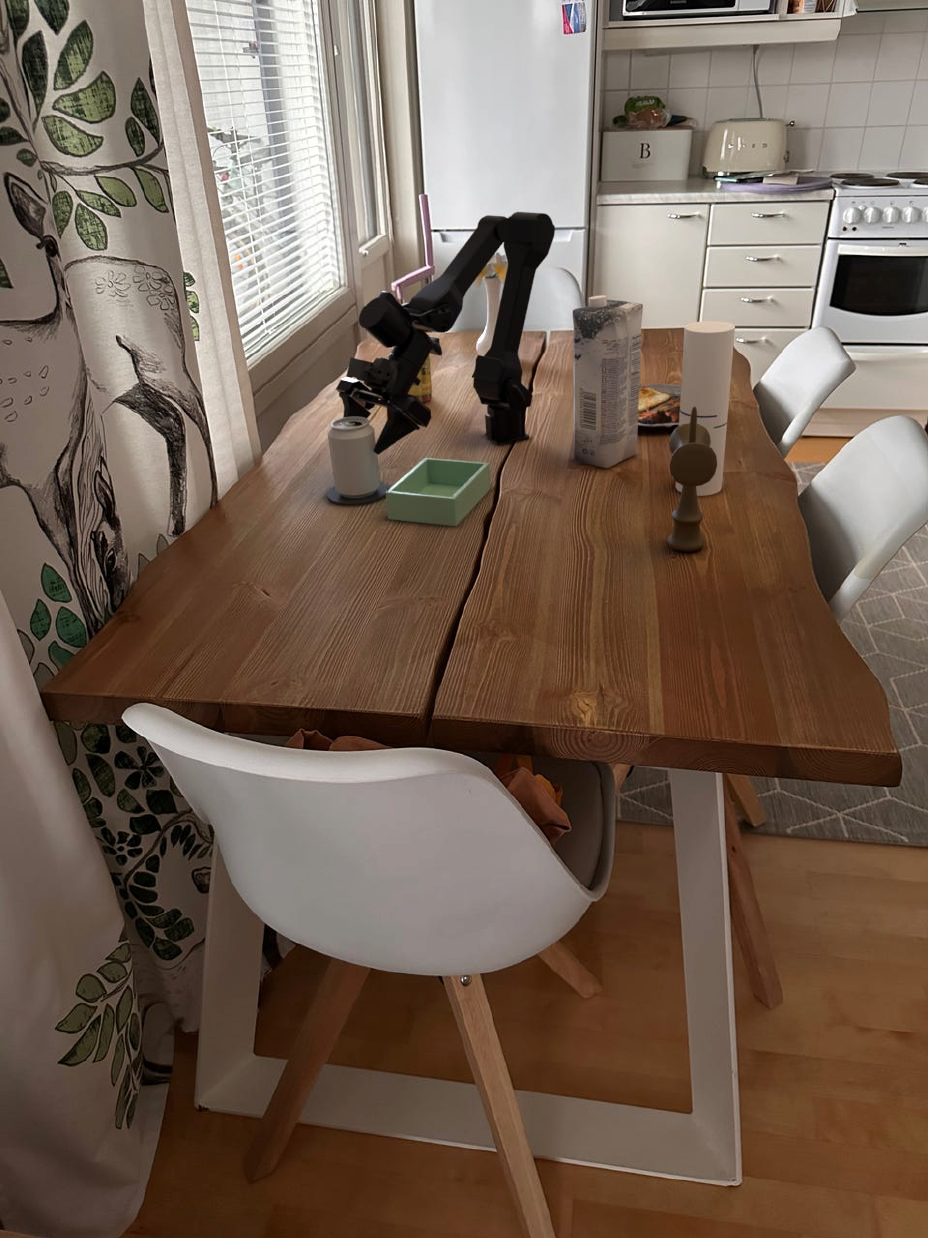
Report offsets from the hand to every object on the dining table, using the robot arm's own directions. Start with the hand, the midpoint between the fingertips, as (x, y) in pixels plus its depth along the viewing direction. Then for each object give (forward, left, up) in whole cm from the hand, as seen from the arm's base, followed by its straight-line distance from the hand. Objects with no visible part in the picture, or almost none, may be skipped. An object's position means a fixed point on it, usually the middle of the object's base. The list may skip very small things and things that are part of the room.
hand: (358, 447), depth 151 cm
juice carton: (-42, +7, -8) cm, 43 cm away
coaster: (+1, 0, -8) cm, 8 cm away
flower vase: (-54, -64, -8) cm, 84 cm away
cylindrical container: (-48, +26, -8) cm, 55 cm away
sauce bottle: (-26, -44, -8) cm, 51 cm away
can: (+1, 0, -8) cm, 8 cm away
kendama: (-34, +43, -8) cm, 56 cm away
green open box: (-9, +11, -8) cm, 17 cm away
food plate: (-61, -8, -8) cm, 62 cm away
